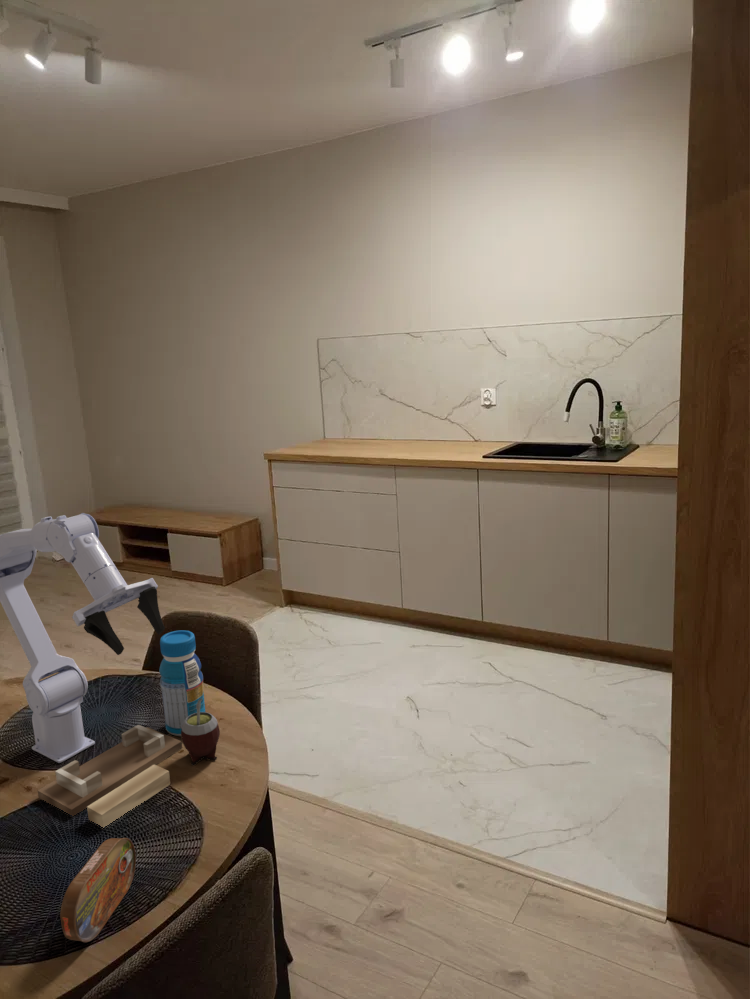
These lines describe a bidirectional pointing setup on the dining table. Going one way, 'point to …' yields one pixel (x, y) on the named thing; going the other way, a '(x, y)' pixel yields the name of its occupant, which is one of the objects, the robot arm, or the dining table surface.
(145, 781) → the slat
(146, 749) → the endcap rail
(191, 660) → the beverage bottle
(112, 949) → the dining table surface
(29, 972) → the dining table surface
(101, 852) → the tin
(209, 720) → the mate gourd
